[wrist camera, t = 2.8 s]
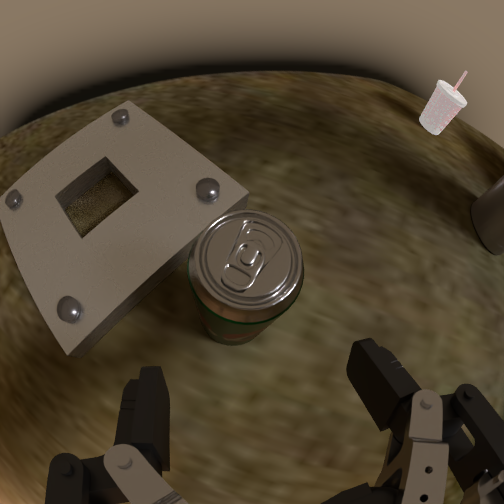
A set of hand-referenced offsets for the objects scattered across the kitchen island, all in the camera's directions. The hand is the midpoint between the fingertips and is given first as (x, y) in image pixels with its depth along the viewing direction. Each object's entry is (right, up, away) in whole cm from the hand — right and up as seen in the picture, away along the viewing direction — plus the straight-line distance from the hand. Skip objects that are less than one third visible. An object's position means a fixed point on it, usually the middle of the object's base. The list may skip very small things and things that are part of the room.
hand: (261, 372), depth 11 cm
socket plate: (-15, +9, +14) cm, 22 cm away
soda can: (-2, 0, +11) cm, 12 cm away
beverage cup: (+31, +27, +28) cm, 50 cm away
